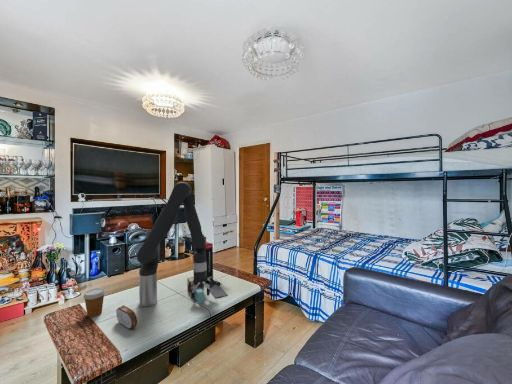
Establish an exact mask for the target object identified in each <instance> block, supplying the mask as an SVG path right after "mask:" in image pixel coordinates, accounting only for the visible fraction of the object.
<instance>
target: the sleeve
mask: <svg viewBox="0 0 512 384" xmlns="http://www.w3.org/2000/svg"><path fill="white" fill-rule="evenodd" d="M193 280H194V276H190V277H187V281H186V282H187V284H186V285H187V286H186V287H187V291H186V292H187V294H188V295H189V298H190V299H193V298H192V297H191V292H188V281H193ZM193 285H194V283H192V285H191V289H192V288H193ZM201 289H202V290H203V291H204V292H205V286H204V287H201Z"/></svg>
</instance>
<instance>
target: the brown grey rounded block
mask: <svg viewBox="0 0 512 384" xmlns="http://www.w3.org/2000/svg"><path fill="white" fill-rule="evenodd" d="M116 319H117V321H118V323H119V324H120V325H122V326H123V327H124V328H126V329H128V330H131V329H134V328H136V327H137V326H138V317H137V315H136V312H135V311H134V310H133V309H131V308H129V307H127V306H126V305H122V306H119V307H118V308H116Z"/></svg>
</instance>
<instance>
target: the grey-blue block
mask: <svg viewBox="0 0 512 384" xmlns="http://www.w3.org/2000/svg"><path fill="white" fill-rule="evenodd" d="M193 286H194V285H193ZM194 299H195V301H196V303H197V304H199V305H200V304H202V303H203V304H204V303H205V290H204V291H203V290H202V289H201V287H199V288H198V287H197V289H196V290H195V291H194Z"/></svg>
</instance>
